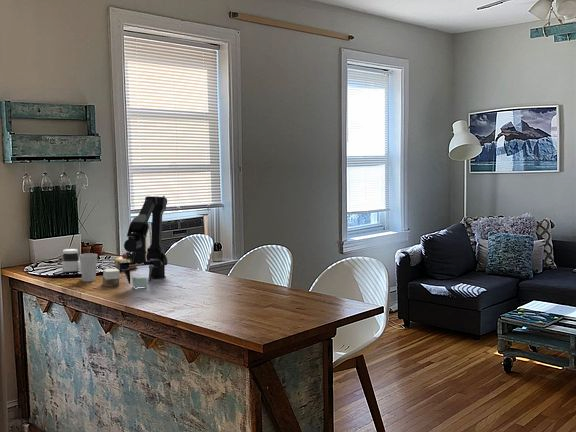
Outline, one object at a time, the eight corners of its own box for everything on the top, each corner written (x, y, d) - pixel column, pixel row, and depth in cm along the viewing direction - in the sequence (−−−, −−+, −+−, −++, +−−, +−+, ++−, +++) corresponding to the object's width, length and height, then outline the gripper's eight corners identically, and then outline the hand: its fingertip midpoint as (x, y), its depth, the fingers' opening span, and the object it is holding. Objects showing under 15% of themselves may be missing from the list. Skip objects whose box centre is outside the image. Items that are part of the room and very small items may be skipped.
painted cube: (143, 286, 282) (143, 275, 281) (146, 288, 278) (146, 277, 277) (132, 287, 280) (132, 276, 279) (135, 289, 275) (135, 278, 275)
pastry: (109, 269, 316) (109, 252, 315) (122, 265, 328) (122, 248, 327) (130, 271, 313) (130, 254, 312) (142, 267, 324) (142, 250, 323)
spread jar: (61, 271, 309) (61, 248, 308) (85, 270, 314) (84, 247, 312) (63, 276, 298) (63, 252, 297) (88, 274, 303) (87, 251, 302)
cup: (86, 282, 286) (86, 257, 285) (76, 280, 291) (75, 254, 290) (101, 279, 293) (100, 254, 291) (90, 277, 297) (90, 252, 296)
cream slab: (116, 275, 287) (116, 268, 286) (119, 278, 282) (119, 270, 281) (103, 276, 284) (103, 269, 284) (106, 279, 279) (106, 271, 278)
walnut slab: (115, 283, 287) (115, 275, 287) (119, 286, 282) (119, 278, 282) (102, 284, 284) (102, 276, 284) (105, 287, 279) (105, 279, 279)
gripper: (154, 244, 288) (154, 277, 290) (113, 247, 279) (114, 281, 281) (161, 248, 279) (161, 282, 280) (120, 251, 269) (120, 286, 271)
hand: (139, 282), depth 278 cm, fingers open, 9 cm apart
